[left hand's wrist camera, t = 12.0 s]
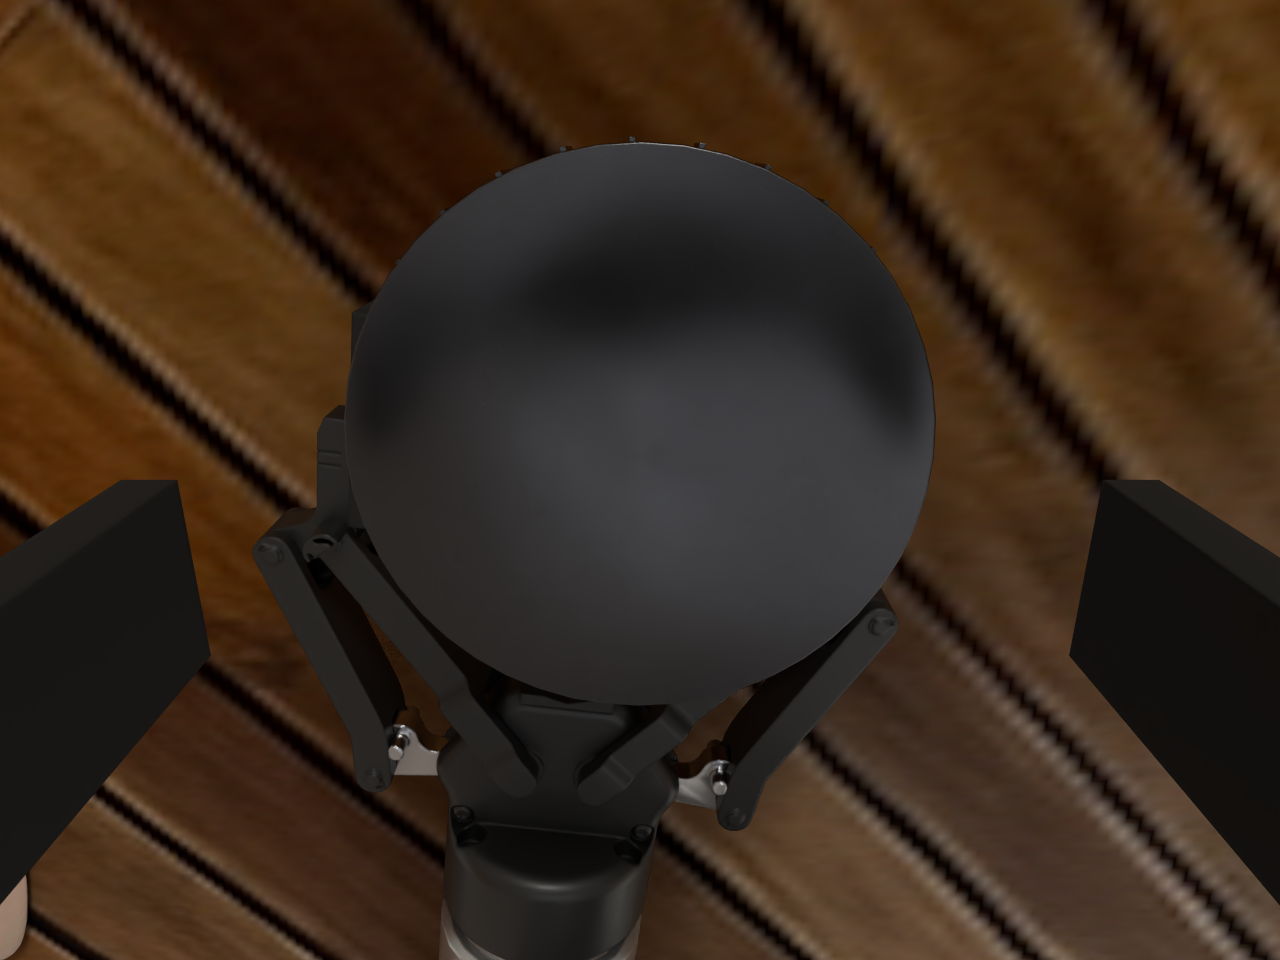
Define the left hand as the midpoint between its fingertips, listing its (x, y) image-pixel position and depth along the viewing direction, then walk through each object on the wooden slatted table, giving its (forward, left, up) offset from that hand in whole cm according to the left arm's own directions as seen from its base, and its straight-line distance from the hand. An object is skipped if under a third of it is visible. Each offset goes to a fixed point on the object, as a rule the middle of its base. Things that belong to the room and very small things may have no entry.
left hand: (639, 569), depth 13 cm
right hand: (+1, 0, -15) cm, 15 cm away
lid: (0, 0, -5) cm, 5 cm away
